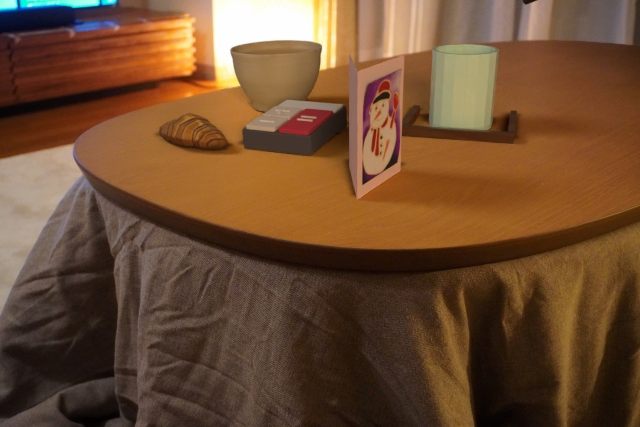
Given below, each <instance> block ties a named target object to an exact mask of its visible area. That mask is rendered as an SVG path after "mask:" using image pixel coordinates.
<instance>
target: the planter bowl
mask: <svg viewBox="0 0 640 427" xmlns="http://www.w3.org/2000/svg"><path fill="white" fill-rule="evenodd" d="M229 51H230V52H229V53H230V56H231V60H232V66H233V70H234V74H235V77H236V79H237V81H238V84H239V85H240V87H241V89H242V91H243V92H244V94H245V95H246V96H247V98H248V99H249V100H250V101H251V103H252V107H253V109H254V110H256V111H258V112H263V113H265V112H267V111H268V110H270V109H271V108H273V107H275V106H278V105H279V104H281V103H283V102H284V101H286V100H296V101H307V98H309V96H310V94H311V93H312V91H313V89H314V87H315V85H316V83H317V80H318V78H319V74H320V70H321V62H322V60H321V59H322V57H321V56H322V51H323V44H321V43H319V42H316V41H310V40H299V39H298V40H297V39H276V40H275V39H273V40H262V41H254V42H247V43H242V44H237V45H235V46H233V47H231V48H230V49H229Z"/></svg>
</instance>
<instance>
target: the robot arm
mask: <svg viewBox="0 0 640 427" xmlns="http://www.w3.org/2000/svg"><path fill="white" fill-rule="evenodd" d="M534 2H538V0H522V4H524V5H525V6H526V5H529V4H532V3H534Z"/></svg>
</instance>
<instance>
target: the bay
mask: <svg viewBox="0 0 640 427" xmlns="http://www.w3.org/2000/svg"><path fill="white" fill-rule="evenodd" d="M420 109H421V105H419V104H414V105H413V106H412V108H411V109H410V110H409V112H408V113H407V115H406V116H405V118H404V119H402V137H412V138H413V137H414V138H416V137H417V138H427V139H442V140H455V141H456V140H458V141H471V142H482V143H483V142H485V143H498V144H500V143H501V144H514V143H515V142H514V141H515V134H516V124H517V117H518V116H517V115H518V110H512V109H511V110H510V113H509V118H508V126H507V131H505V130H504V131H503V130H490V129H489V130H474V129H458V128H443V127H431V126H426V125H425V126H424V125H413V124H414V123H415V121H416V120H417V118H418V117H419V115H420V113H421V112H420V111H421V110H420Z"/></svg>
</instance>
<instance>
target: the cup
mask: <svg viewBox="0 0 640 427" xmlns="http://www.w3.org/2000/svg"><path fill="white" fill-rule="evenodd" d="M499 58H500V49H499V48H498V47H496V46H492V45H486V44H477V43H450V44H440V45H437V46H434V47H432V51H431V68H430V85H429V86H430V89H429V110H428V125H429V127H443V128H458V129H474V130H489V131H490V129H491V128H492V127H493V121H494V113H495V112H494V111H495V102H496V91H497V81H498V71H499V70H498V69H499V60H500V59H499Z"/></svg>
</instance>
